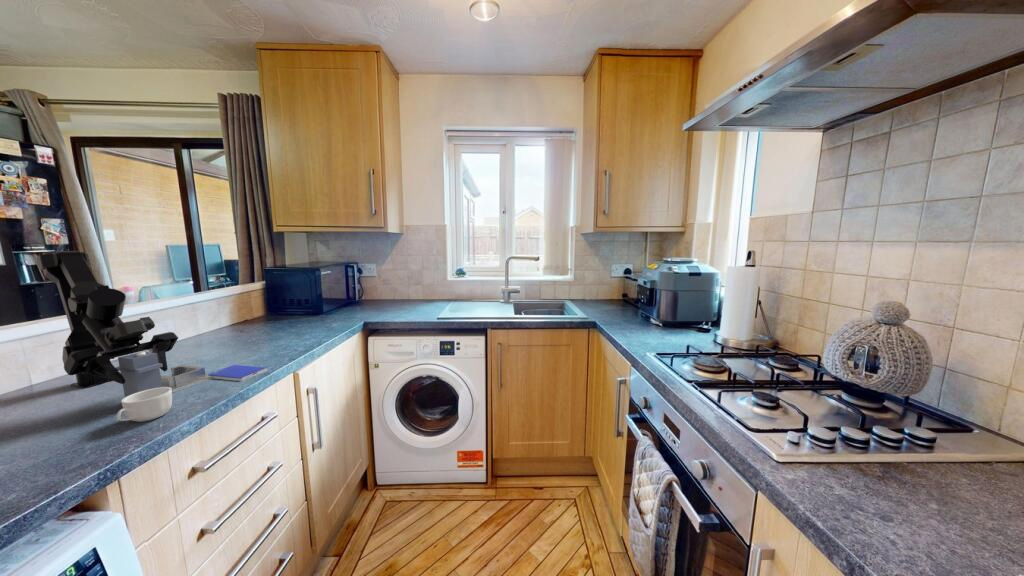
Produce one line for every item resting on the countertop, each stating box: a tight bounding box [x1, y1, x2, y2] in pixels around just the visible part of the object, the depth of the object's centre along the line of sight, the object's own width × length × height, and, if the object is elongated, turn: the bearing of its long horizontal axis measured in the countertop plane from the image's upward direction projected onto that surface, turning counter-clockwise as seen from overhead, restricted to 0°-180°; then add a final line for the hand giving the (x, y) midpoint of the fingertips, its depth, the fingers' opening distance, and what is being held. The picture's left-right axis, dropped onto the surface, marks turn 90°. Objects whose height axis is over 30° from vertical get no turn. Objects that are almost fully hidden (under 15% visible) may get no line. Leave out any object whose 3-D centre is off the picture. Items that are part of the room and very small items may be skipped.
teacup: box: [116, 387, 173, 423], centre depth 74 cm, size 10×8×5 cm
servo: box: [115, 351, 163, 398], centre depth 83 cm, size 8×4×13 cm, turn 75°
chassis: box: [160, 364, 214, 394], centre depth 95 cm, size 14×10×3 cm
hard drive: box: [207, 364, 269, 382], centre depth 101 cm, size 2×8×12 cm
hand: (146, 376), depth 82 cm, fingers open, 8 cm apart
